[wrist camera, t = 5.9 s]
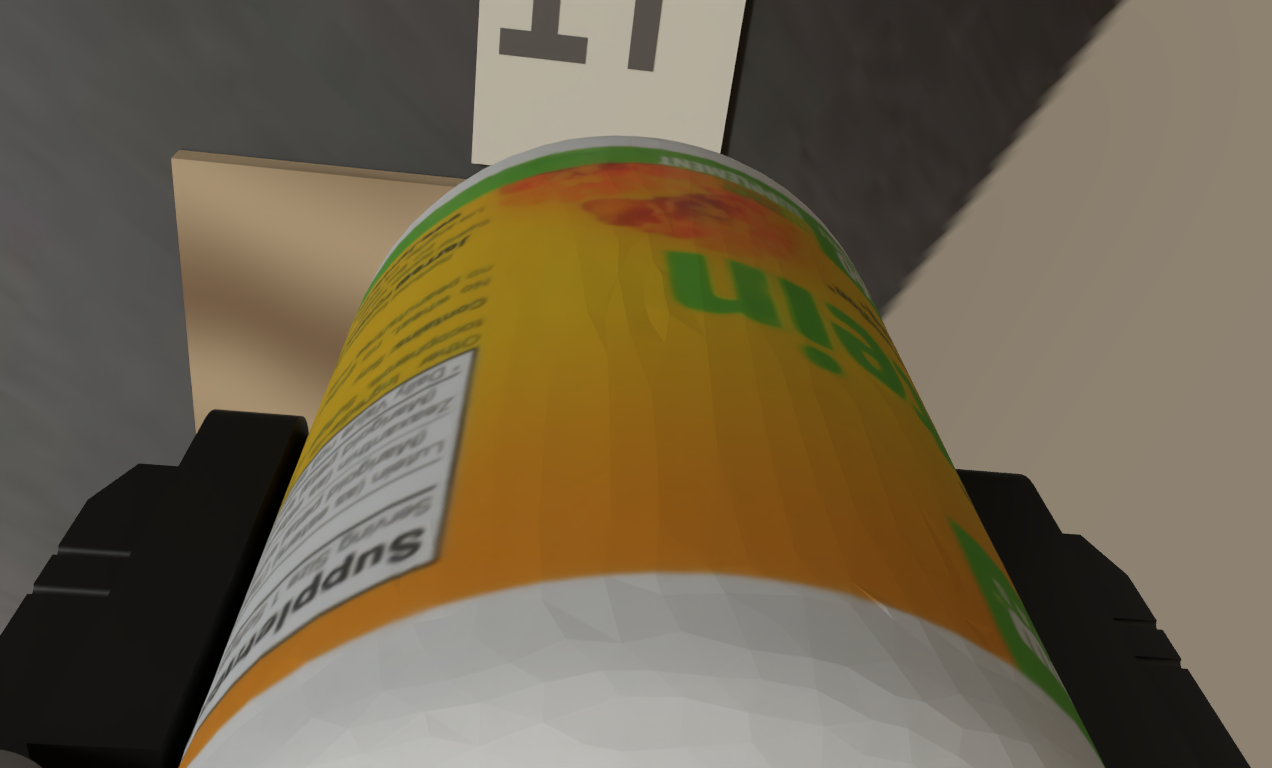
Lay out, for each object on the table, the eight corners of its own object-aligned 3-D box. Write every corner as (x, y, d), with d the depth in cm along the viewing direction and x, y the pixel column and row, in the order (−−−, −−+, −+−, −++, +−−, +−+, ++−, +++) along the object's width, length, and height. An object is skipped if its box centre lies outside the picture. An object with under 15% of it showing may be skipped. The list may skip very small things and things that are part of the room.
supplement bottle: (976, 352, 12) (1951, 1907, 3) (631, 641, 14) (707, 2094, 5) (594, -5, 10) (660, 1640, 1) (252, 392, 12) (-598, 2098, 3)
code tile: (490, -207, 23) (490, -206, 23) (772, -168, 24) (773, -168, 24) (472, 160, 27) (471, 163, 27) (713, 185, 28) (714, 188, 28)
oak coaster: (179, 149, 27) (171, 158, 26) (552, 187, 28) (551, 196, 27) (206, 457, 31) (199, 469, 31) (525, 481, 32) (525, 494, 32)
